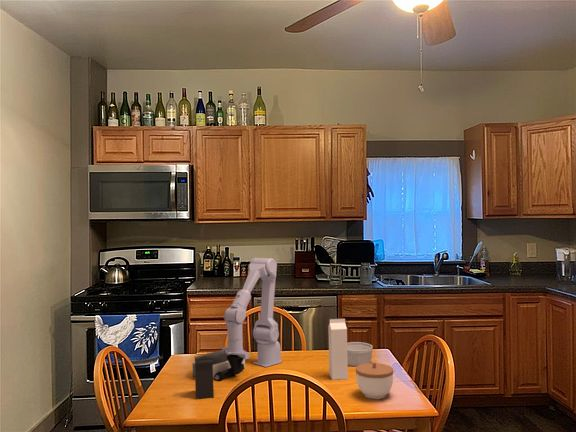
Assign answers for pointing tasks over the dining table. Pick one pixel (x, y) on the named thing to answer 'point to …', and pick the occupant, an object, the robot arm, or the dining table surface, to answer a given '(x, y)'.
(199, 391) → the phone stand
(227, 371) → the electric trimmer
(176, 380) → the dining table surface
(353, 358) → the ramekin
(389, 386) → the lidded bowl
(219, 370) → the pad
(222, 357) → the tester frame
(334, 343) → the milk
